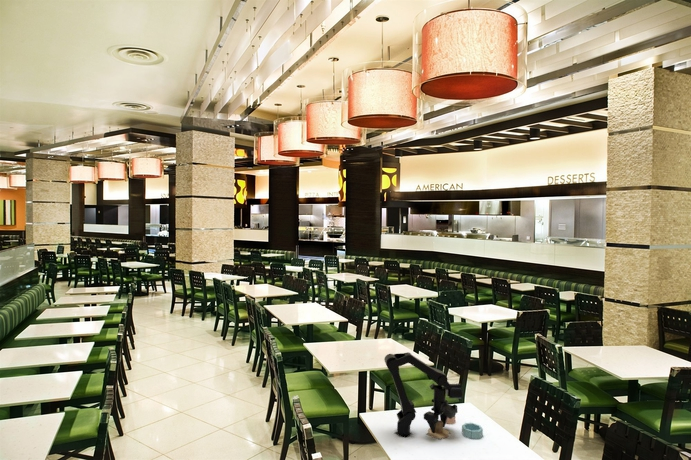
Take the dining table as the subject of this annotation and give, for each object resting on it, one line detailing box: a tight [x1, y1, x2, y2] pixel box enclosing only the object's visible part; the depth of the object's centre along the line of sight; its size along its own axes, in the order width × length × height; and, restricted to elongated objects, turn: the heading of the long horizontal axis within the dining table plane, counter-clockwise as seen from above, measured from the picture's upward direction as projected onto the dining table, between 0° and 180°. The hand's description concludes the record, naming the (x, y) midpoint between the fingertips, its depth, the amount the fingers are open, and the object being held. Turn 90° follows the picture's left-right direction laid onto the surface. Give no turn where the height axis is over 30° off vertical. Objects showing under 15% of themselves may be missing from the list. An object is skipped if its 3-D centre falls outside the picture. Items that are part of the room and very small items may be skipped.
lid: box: [427, 419, 450, 440], centre depth 222 cm, size 10×10×6 cm
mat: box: [425, 431, 452, 441], centre depth 223 cm, size 10×8×1 cm
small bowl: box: [445, 416, 456, 425], centre depth 237 cm, size 7×7×4 cm
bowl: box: [461, 422, 484, 440], centre depth 223 cm, size 9×9×4 cm
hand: (438, 430), depth 222 cm, fingers open, 9 cm apart
